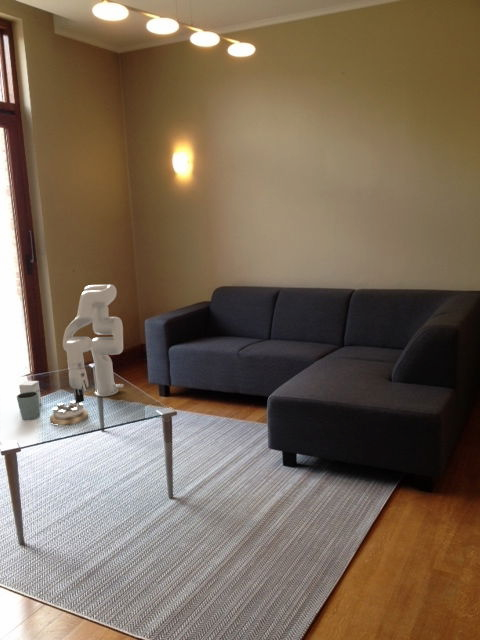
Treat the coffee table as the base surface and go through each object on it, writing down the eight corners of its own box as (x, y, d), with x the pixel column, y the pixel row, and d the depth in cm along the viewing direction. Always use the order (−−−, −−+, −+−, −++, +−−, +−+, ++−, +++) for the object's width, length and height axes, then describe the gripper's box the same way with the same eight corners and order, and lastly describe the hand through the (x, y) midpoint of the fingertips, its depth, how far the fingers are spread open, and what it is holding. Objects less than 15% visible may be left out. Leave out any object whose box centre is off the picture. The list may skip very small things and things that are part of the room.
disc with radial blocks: (72, 407, 294) (70, 388, 292) (89, 412, 285) (86, 392, 283) (48, 416, 284) (45, 396, 281) (64, 421, 275) (62, 401, 273)
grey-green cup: (31, 422, 284) (28, 398, 281) (15, 420, 287) (11, 397, 285) (45, 414, 293) (42, 391, 290) (29, 412, 296) (25, 390, 294)
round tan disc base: (86, 409, 296) (85, 404, 295) (90, 421, 279) (89, 416, 279) (49, 415, 290) (48, 411, 290) (51, 428, 274) (50, 423, 273)
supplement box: (34, 408, 303) (31, 385, 300) (21, 408, 304) (18, 385, 301) (42, 403, 310) (38, 380, 307) (29, 403, 311) (26, 380, 308)
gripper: (91, 365, 279) (95, 402, 282) (74, 361, 289) (78, 396, 292) (78, 369, 273) (82, 406, 277) (61, 365, 283) (65, 400, 287)
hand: (80, 401), depth 284 cm, fingers closed
